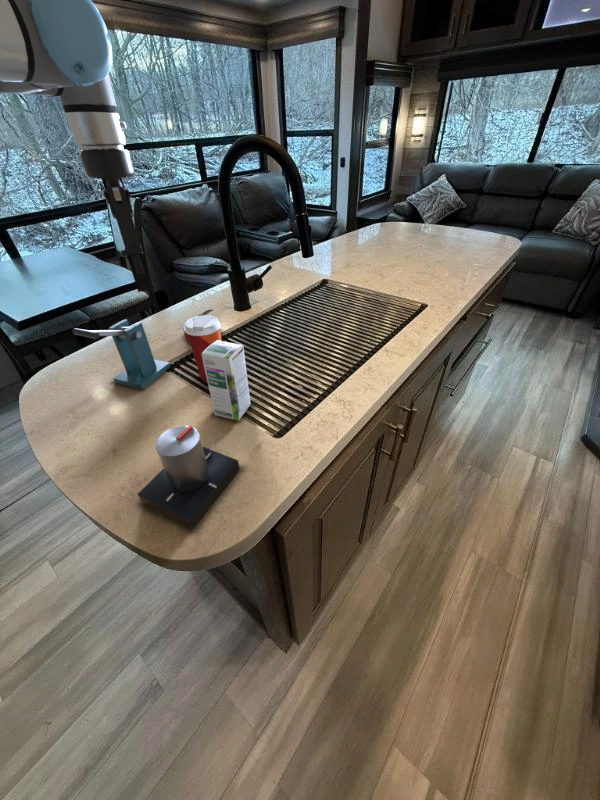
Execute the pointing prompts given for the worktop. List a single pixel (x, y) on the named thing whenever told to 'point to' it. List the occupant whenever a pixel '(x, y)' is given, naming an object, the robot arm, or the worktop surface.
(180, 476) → the dial
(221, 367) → the syrup box
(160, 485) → the control panel
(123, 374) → the teal lever stand
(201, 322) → the paper cup
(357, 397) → the worktop surface
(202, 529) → the worktop surface
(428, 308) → the worktop surface
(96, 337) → the lever
